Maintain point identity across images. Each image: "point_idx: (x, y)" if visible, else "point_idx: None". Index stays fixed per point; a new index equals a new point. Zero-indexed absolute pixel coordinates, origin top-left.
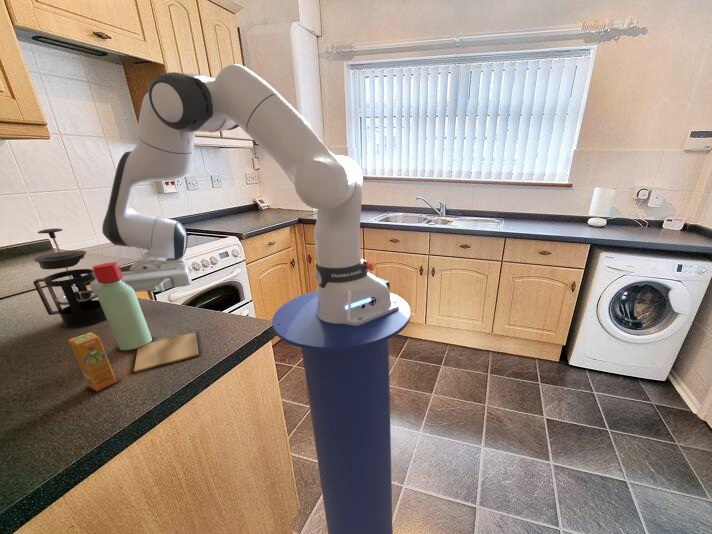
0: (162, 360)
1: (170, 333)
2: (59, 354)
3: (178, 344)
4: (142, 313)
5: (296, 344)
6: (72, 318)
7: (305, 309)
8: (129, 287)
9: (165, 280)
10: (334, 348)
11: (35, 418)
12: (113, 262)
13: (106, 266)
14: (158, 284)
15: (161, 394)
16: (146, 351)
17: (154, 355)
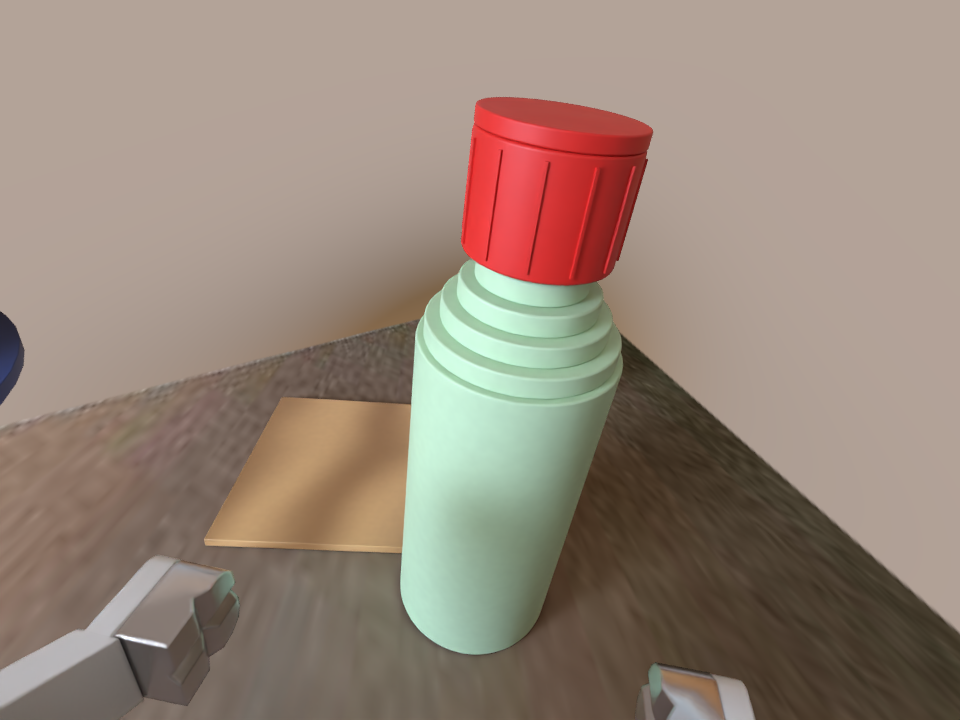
0: (384, 414)
1: (305, 623)
2: (835, 691)
3: (312, 473)
4: (407, 466)
5: (20, 355)
6: None
7: None
8: (435, 307)
9: (6, 683)
10: None
11: (626, 372)
12: (517, 118)
13: (532, 100)
14: (173, 574)
15: (404, 333)
16: None
17: (403, 448)
